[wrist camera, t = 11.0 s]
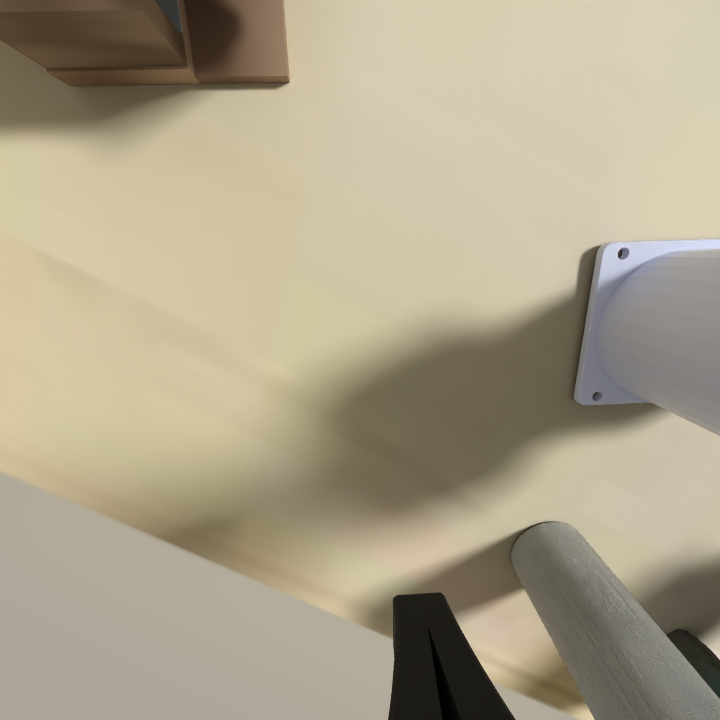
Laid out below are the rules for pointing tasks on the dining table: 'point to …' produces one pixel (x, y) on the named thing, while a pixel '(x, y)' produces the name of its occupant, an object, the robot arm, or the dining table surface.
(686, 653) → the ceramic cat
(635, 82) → the dining table surface
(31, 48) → the dock
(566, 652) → the grey cylinder
